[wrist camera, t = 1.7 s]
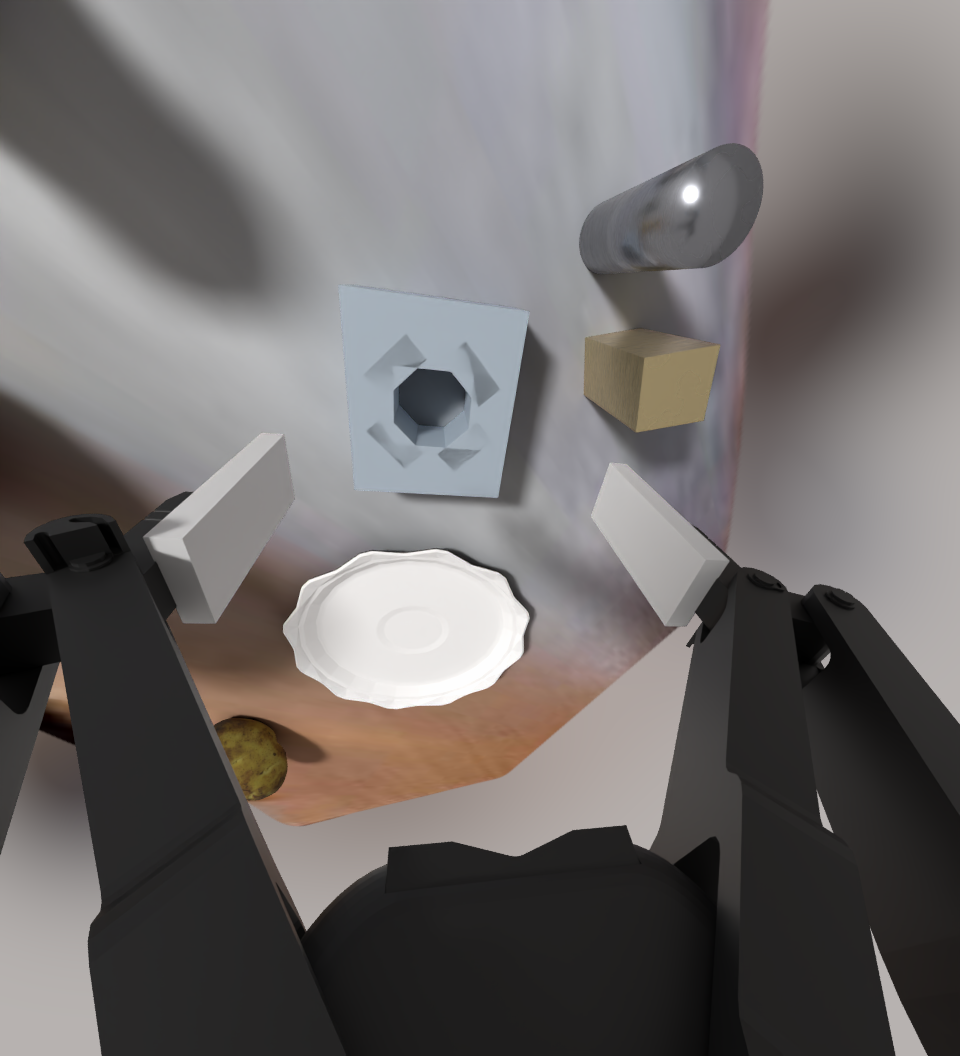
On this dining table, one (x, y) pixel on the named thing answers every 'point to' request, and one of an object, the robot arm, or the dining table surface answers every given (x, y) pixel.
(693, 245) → the round bit
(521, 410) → the dining table surface
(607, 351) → the square bit
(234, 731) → the potato
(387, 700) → the plate
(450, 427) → the bore block
